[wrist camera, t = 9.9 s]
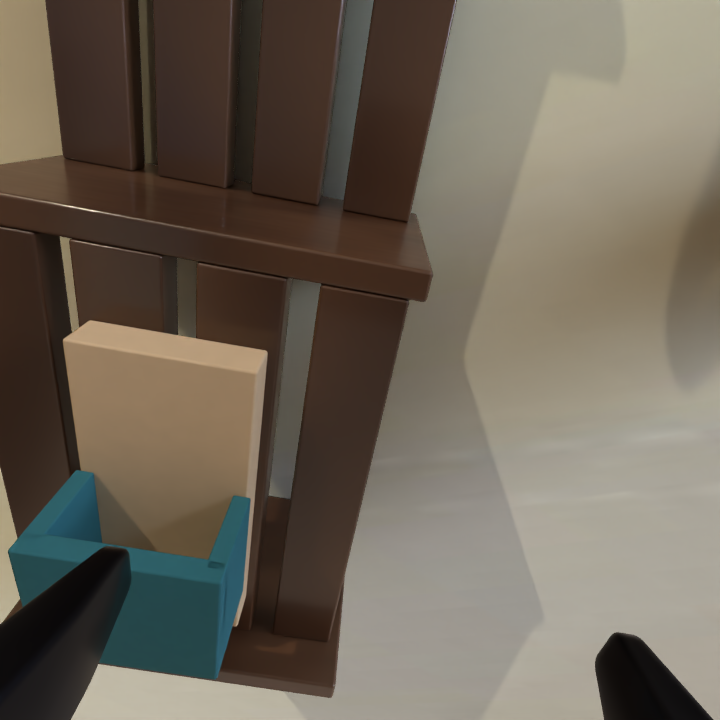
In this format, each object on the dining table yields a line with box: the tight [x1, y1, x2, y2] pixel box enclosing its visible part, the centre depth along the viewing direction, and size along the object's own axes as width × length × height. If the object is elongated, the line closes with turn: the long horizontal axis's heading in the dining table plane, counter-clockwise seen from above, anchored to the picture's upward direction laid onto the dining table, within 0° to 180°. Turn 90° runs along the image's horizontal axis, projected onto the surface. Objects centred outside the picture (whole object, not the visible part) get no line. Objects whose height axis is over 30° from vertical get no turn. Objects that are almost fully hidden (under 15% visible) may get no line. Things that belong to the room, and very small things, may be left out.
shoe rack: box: [0, 0, 457, 698], centre depth 13 cm, size 12×31×8 cm, turn 170°
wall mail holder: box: [8, 320, 268, 680], centre depth 13 cm, size 5×10×4 cm, turn 170°
